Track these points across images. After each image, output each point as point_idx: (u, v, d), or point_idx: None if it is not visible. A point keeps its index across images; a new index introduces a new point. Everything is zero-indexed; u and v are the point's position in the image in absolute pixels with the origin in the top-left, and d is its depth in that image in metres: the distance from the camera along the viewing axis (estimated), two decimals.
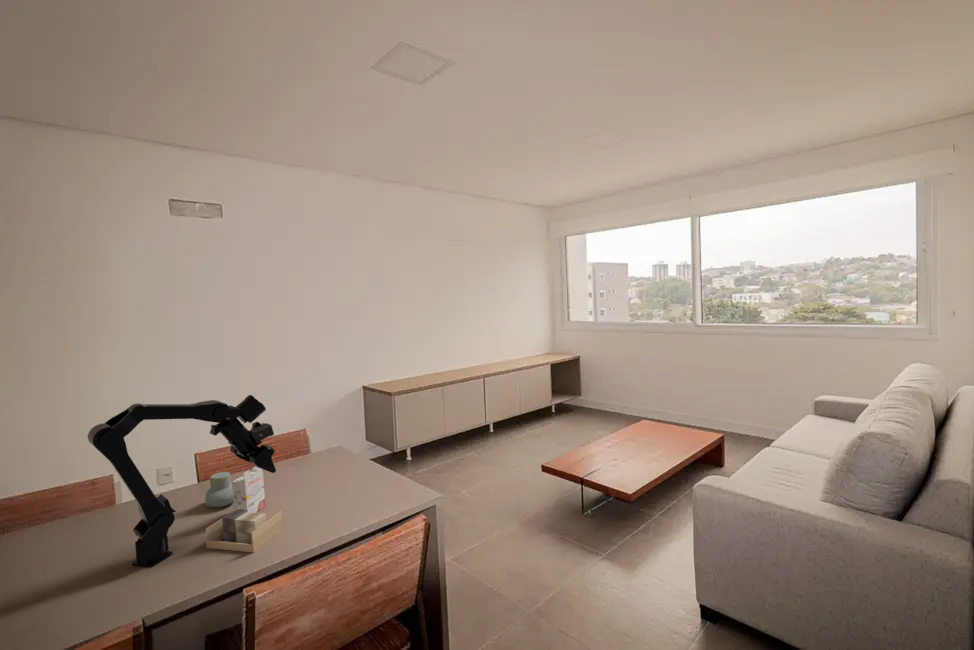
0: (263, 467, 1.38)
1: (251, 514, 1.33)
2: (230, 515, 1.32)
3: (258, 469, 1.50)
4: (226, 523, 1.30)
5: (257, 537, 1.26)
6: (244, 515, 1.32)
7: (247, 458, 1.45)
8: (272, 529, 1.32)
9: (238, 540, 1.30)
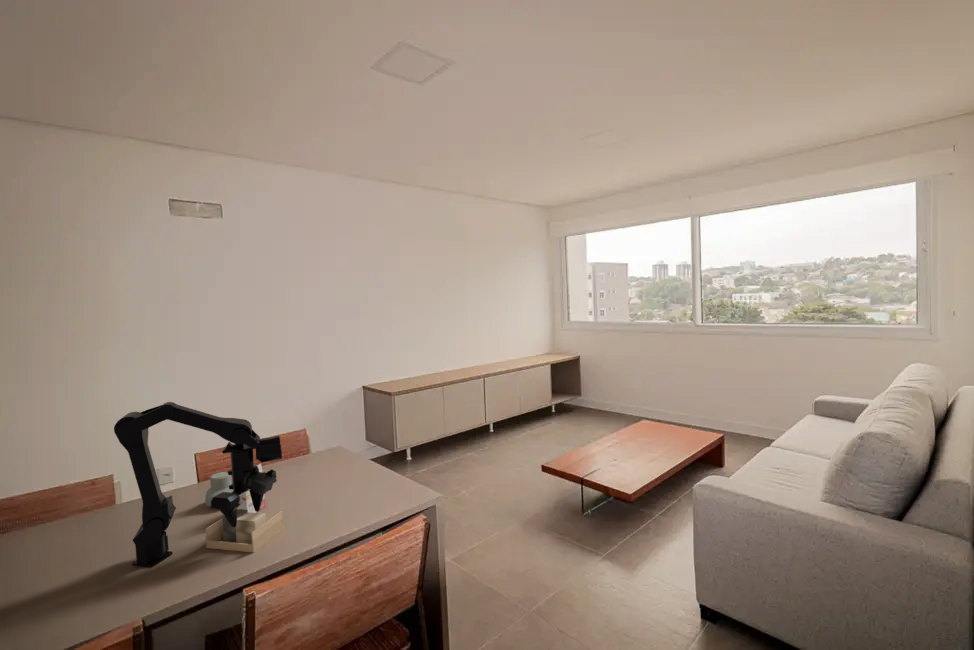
0: (223, 512, 1.26)
1: (251, 514, 1.33)
2: None
3: None
4: (226, 523, 1.30)
5: (257, 537, 1.26)
6: (244, 515, 1.32)
7: (252, 493, 1.37)
8: (272, 529, 1.32)
9: (238, 540, 1.30)
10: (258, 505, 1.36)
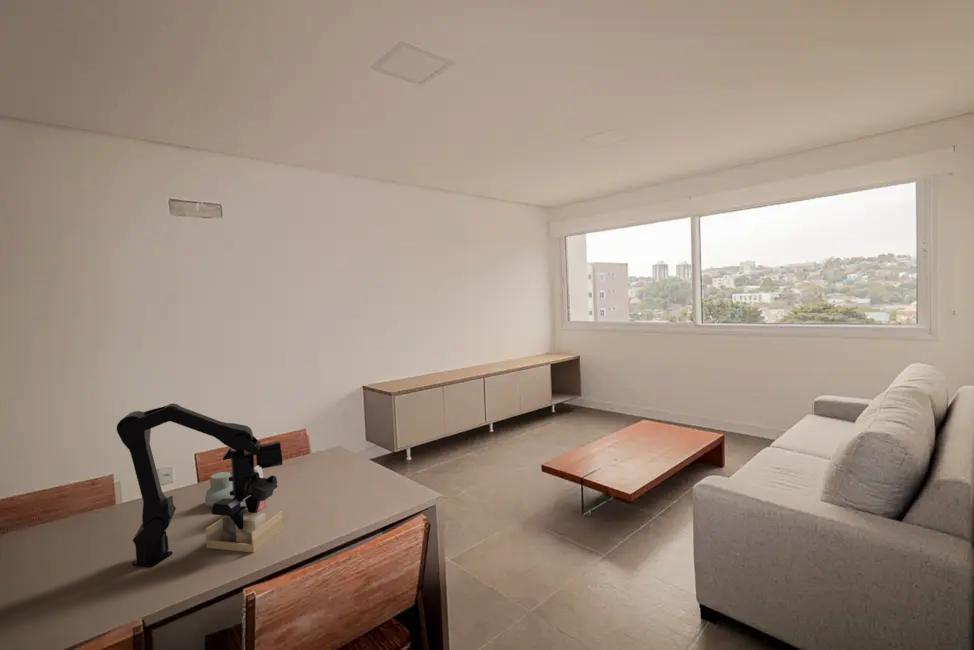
0: (230, 515, 1.28)
1: (251, 514, 1.33)
2: None
3: (258, 469, 1.50)
4: (226, 523, 1.30)
5: (257, 537, 1.26)
6: (244, 515, 1.32)
7: (247, 502, 1.35)
8: (272, 529, 1.32)
9: (238, 540, 1.30)
10: None
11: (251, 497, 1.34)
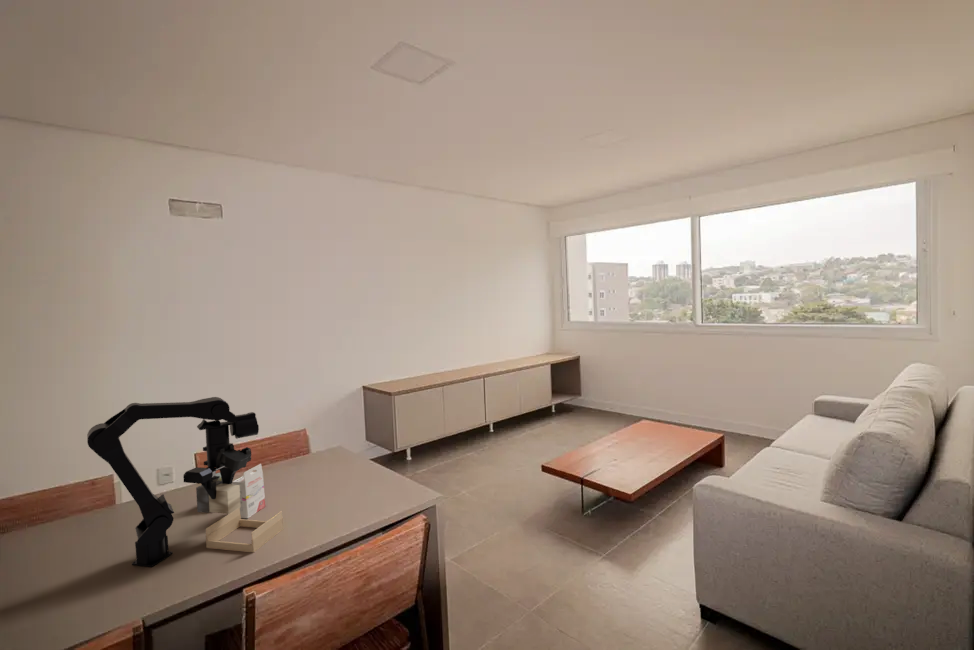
0: (203, 484, 1.29)
1: (225, 485, 1.34)
2: None
3: (258, 469, 1.50)
4: (200, 493, 1.31)
5: (257, 537, 1.26)
6: (218, 486, 1.33)
7: (222, 474, 1.36)
8: (272, 529, 1.32)
9: (211, 510, 1.31)
10: None
11: (226, 469, 1.35)
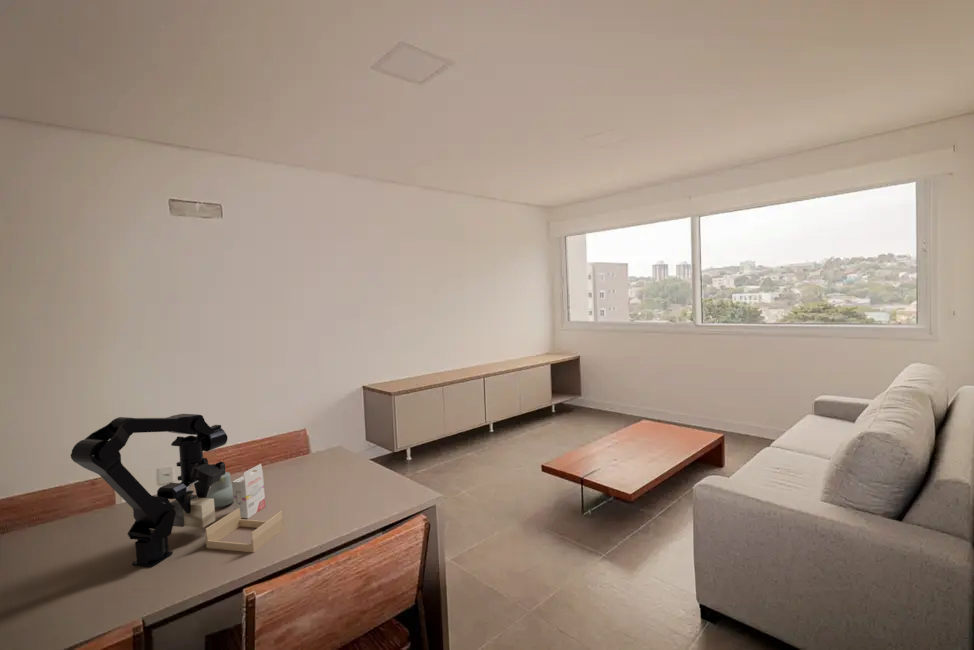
0: (177, 499, 1.31)
1: (199, 499, 1.36)
2: None
3: (258, 469, 1.50)
4: (174, 507, 1.33)
5: (257, 537, 1.26)
6: (192, 500, 1.36)
7: (197, 488, 1.38)
8: (272, 529, 1.32)
9: (186, 524, 1.33)
10: None
11: (200, 483, 1.38)
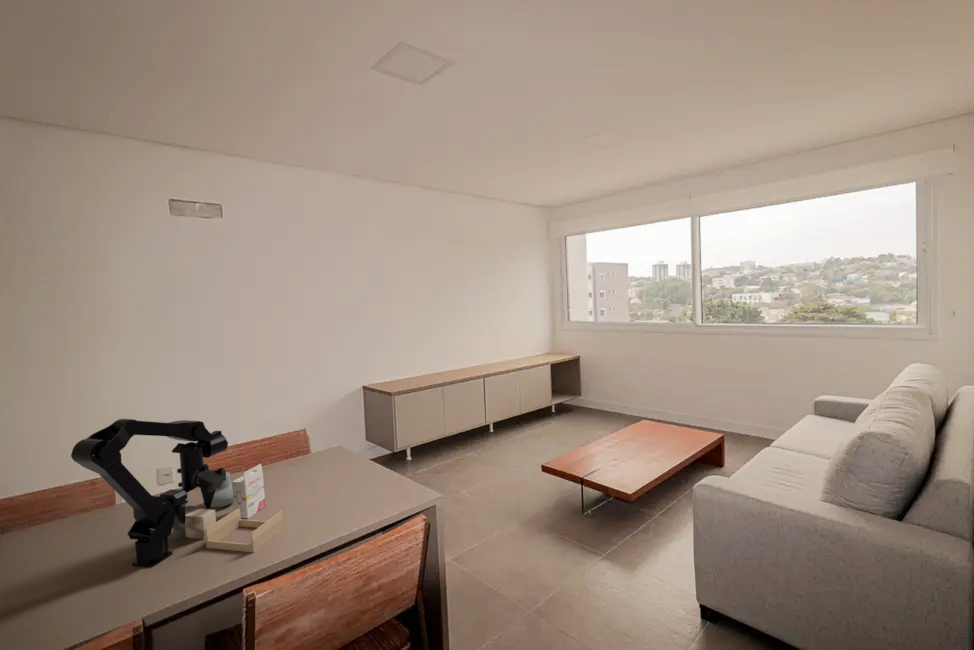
0: None
1: (201, 510, 1.36)
2: None
3: (258, 469, 1.50)
4: (175, 519, 1.33)
5: (257, 537, 1.26)
6: (194, 511, 1.36)
7: (203, 491, 1.40)
8: (272, 529, 1.32)
9: (187, 536, 1.34)
10: (209, 502, 1.39)
11: None
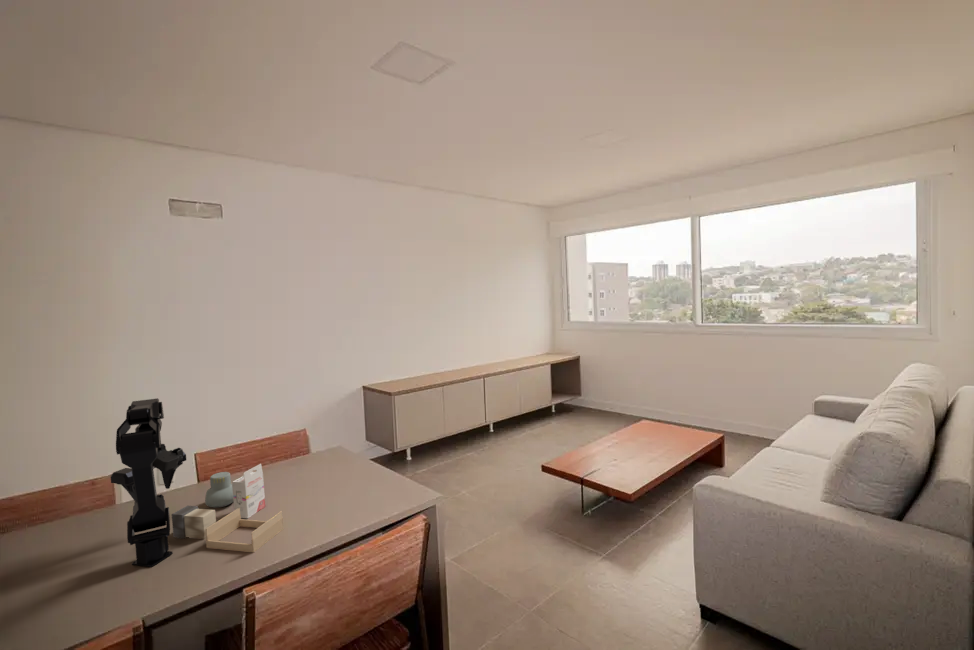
0: (125, 488, 1.29)
1: (201, 510, 1.36)
2: (180, 511, 1.35)
3: (258, 469, 1.50)
4: (175, 519, 1.33)
5: (257, 537, 1.26)
6: (194, 511, 1.36)
7: None
8: (272, 529, 1.32)
9: (187, 536, 1.34)
10: (168, 482, 1.39)
11: None
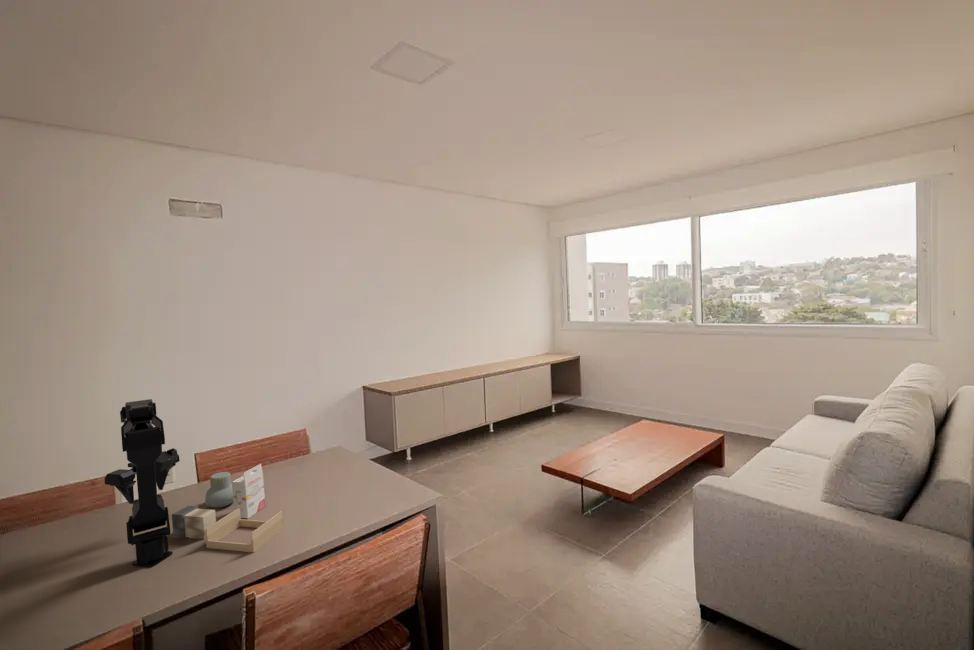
0: (119, 489, 1.28)
1: (201, 510, 1.36)
2: (180, 511, 1.35)
3: (258, 469, 1.49)
4: (175, 519, 1.33)
5: (257, 537, 1.26)
6: (194, 511, 1.36)
7: (156, 472, 1.39)
8: (272, 529, 1.32)
9: (187, 536, 1.34)
10: (161, 484, 1.38)
11: None
